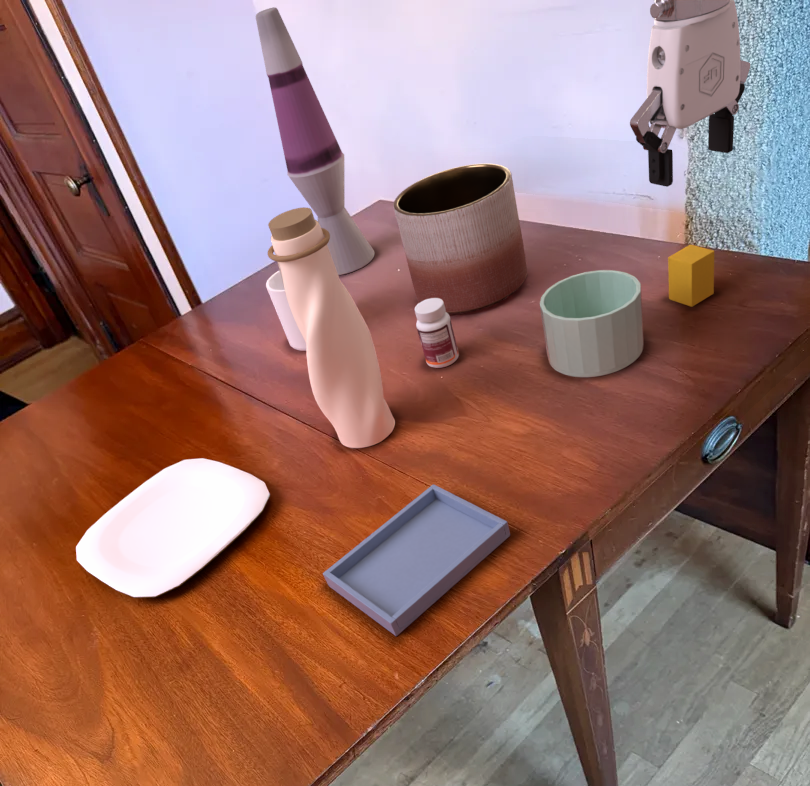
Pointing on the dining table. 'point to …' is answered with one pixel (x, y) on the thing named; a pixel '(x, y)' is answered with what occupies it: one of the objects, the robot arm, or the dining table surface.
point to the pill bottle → (436, 333)
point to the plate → (171, 527)
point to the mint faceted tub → (593, 323)
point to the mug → (285, 312)
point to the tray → (416, 557)
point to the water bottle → (330, 331)
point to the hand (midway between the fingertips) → (690, 167)
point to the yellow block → (691, 275)
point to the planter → (463, 236)
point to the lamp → (310, 144)
